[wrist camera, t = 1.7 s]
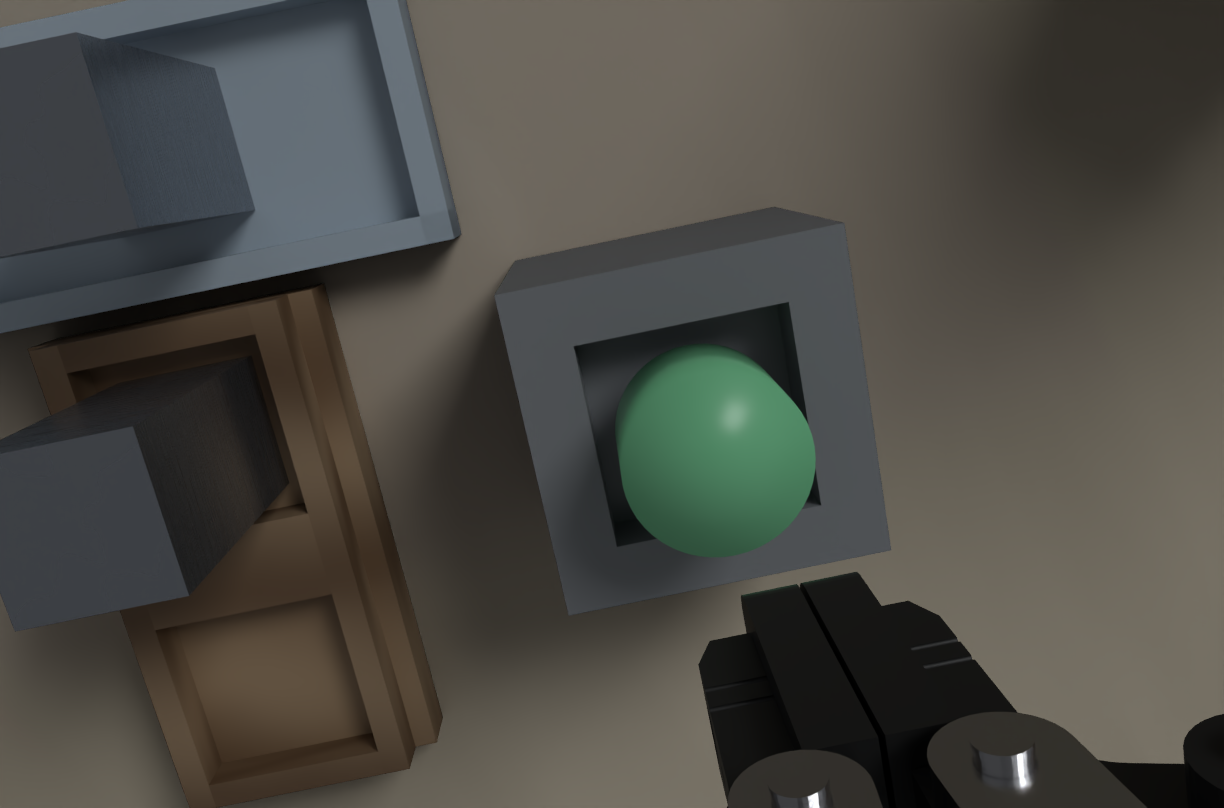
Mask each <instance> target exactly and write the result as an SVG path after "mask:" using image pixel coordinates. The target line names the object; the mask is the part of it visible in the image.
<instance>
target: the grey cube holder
mask: <svg viewBox="0 0 1224 808" xmlns="http://www.w3.org/2000/svg"><path fill="white" fill-rule="evenodd" d="M494 296H495V301H496V305H497V309H498V313H499V318H500V322H501V326H502V331H503V335H504V339H505V344H506V348H507V352H508V356H509V361H510V365H511V369H512V374H513V378H514V382H515V387H516V391H517V395H518V399H519V404H520V408H521V412H522V417H523V421H524V425H525V430H526V434H527V438H528V442H529V447H530V451H531V455H532V460H533V464H534V468H535V473H536V477H537V481H538V485H539V490H540V494H541V498H542V503H543V507H544V511H545V516H546V520H547V524H548V528H549V533H550V537H551V541H552V546H553V550H554V554H555V559H556V563H557V567H558V571H559V576H560V580H561V584H562V589H563V593H564V597H565V602H566V606H567V610H568V614H569V615H574V614H579V613H584V612H589V611H594V610H599V609H604V608H609V607H614V606H619V605H624V604H629V603H634V602H638V601H643V600H648V599H653V598H658V597H663V596H668V595H673V594H678V593H683V592H688V591H693V590H698V589H702V588H707V587H712V586H717V585H722V584H727V583H732V582H737V581H742V580H747V579H752V578H757V577H762V576H767V575H771V574H776V573H781V572H786V571H791V570H796V569H801V568H806V567H811V566H816V565H821V564H826V563H831V562H835V561H840V560H845V559H850V558H855V557H860V556H865V555H870V554H875V553H880V552H885V551H890V550H891V546H890V539H889V532H888V525H887V518H886V511H885V504H884V497H883V490H882V483H881V476H880V469H879V462H878V455H877V448H876V441H875V434H874V427H873V420H872V413H871V406H870V399H869V392H868V385H867V378H866V371H865V364H864V357H863V350H862V343H861V336H860V329H859V322H858V316H857V309H856V302H855V295H854V288H853V281H852V274H851V267H850V260H849V253H848V246H847V239H846V232H845V225H844V223H843V222H838V221H834V220H830V219H825V218H821V217H817V216H812V215H808V214H803V213H799V212H795V211H790V210H786V209H782V208H777V207H771V208H767V209H762V210H757V211H752V212H747V213H743V214H738V215H733V216H728V217H723V218H718V219H714V220H709V221H704V222H699V223H694V224H690V225H685V226H680V227H675V228H670V229H666V230H661V231H656V232H651V233H646V234H641V235H637V236H632V237H627V238H622V239H617V240H613V241H608V242H603V243H598V244H593V245H589V246H584V247H579V248H574V249H569V250H565V251H560V252H555V253H550V254H545V255H540V256H536V257H531V258H526V259H521V260H516V261H515V262H514V264H513V265H512V267H511V269H510V270H509V272H508V274H507V275H506V277H505V278H504V280H503V282H502V283H501V285H500V287H499V288H498V290H497V292H496V293H495V295H494ZM691 344H715V345H721V346H725V347H729V348H732V349H734V350H737V351H739V352H741V353H743V354H745V355H747V356H748V357H750V358H751V359H753V360H754V361H755V362H757V363H758V364H759V365H760V366H761V367H762V368H763V369H764V370H765V371H766V372H767V373H768V374H769V375H770V376H771V378H772V379H773V380H774V381H775V382H776V383H777V384H778V385H779V386H780V387H781V389H782V390H783V391H784V392H785V393H786V394H787V395H788V396H789V397H790V398H791V400H792V401H793V402H794V403H795V404H796V406H797V407H798V408H799V410H800V411H801V412H802V414H803V416H804V418H805V420H806V421H807V423H808V426H809V428H810V431H811V434H812V437H813V442H814V446H815V457H816V462H815V474H814V479H813V484H812V487H811V490H810V493H809V496H808V498H807V500H806V502H805V504H804V506H803V508H802V509H801V511H800V512H799V514H798V515H797V517H796V518H795V519H794V520H793V522H792V523H791V524H790V525H789V526H788V527H787V528H786V529H785V530H784V531H783V532H782V533H781V534H779V535H778V536H777V537H775V538H774V539H772V540H771V541H770V542H768V543H766V544H764V545H762V546H761V547H759V548H756V549H754V550H751V551H749V552H746V553H742V554H739V555H735V556H728V557H702V556H695V555H691V554H687V553H684V552H681V551H678V550H676V549H673V548H672V547H670V546H668V545H666V544H664V543H662V542H661V541H660V540H658V539H657V538H655V537H654V536H653V535H652V534H651V533H650V532H649V531H647V530H646V529H645V528H644V526H643V525H642V524H641V523H640V522H639V520H638V519H637V518H636V516H635V514H634V513H633V511H632V510H631V508H630V505H629V503H628V501H627V499H626V496H625V492H624V489H623V485H622V478H621V471H620V464H619V457H618V451H617V444H616V436H615V421H616V413H617V409H618V406H619V402H620V400H621V397H622V395H623V393H624V391H625V389H626V387H627V386H628V384H629V382H630V381H631V380H632V378H633V377H634V376H635V374H636V373H637V372H638V371H639V370H640V369H641V368H642V367H643V366H644V365H646V364H647V363H648V362H649V361H651V360H652V359H653V358H655V357H657V356H659V355H660V354H662V353H664V352H666V351H669V350H671V349H673V348H677V347H681V346H684V345H691Z"/></svg>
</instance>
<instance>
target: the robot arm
mask: <svg viewBox="0 0 1224 808" xmlns="http://www.w3.org/2000/svg"><path fill="white" fill-rule="evenodd" d="M741 602H742V610H743V615H744V621H745V626H746V632H747V634H742V635H737V636H732V637H727V638H722V639H717V640H712V641H710V642H709V644H708V646H707V648H706V650H705V652H704V654H703V656H702V658H701V660H700V663H699V670H700V675H701V679H702V684H703V689H704V694H705V699H706V704H707V709H708V714H709V719H710V724H711V729H712V734H713V739H714V744H715V749H716V754H717V759H718V764H719V769H720V774H721V778H722V782H723V786H724V791H725V795H726V799H727V803H728V806H727V808H1224V714H1222V715H1217V716H1214V717H1211V718H1209V719H1206V720H1204V721H1202V722H1200V723H1199V724H1197V725H1195V726H1194V727H1193V728H1192V729H1191V730H1190V731H1189V732H1188V734H1187V735H1186V737H1185V740H1184V745H1183V750H1184V764H1151V763H1117V762H1108V761H1100V760H1098V759H1096V758H1095V757H1094V756H1093V755H1092V754H1091V753H1090V752H1089V751H1088V750H1087V749H1086V748H1085V747H1084V746H1083V745H1082V744H1081V743H1080V742H1079V741H1078V740H1077V739H1076V738H1075V737H1074V736H1073V735H1071V734H1070V733H1069V732H1068V731H1066V730H1065V729H1064V728H1062V727H1060V726H1058V725H1057V724H1055V723H1053V722H1050V721H1048V720H1045V719H1043V718H1039V717H1036V716H1033V715H1027V714H1022V713H1017V711H1016V710H1015V709H1014V708H1013V706H1012V705H1011V704H1010V703H1009V701H1008V700H1007V699H1006V698H1005V696H1004V695H1003V694H1002V693H1001V691H1000V690H999V689H998V688H997V686H996V685H995V684H994V683H993V682H992V680H991V679H990V678H989V677H988V675H987V674H986V673H985V672H984V670H983V669H982V668H981V667H980V665H979V664H978V663H977V662H976V660H972V657H971V654H970V653H969V652H968V651H967V649H966V648H965V647H964V646H963V644H962V643H961V642H958V640H957V637H956V636H955V634H954V633H953V632H952V631H951V629H950V628H949V627H948V626H947V625H946V623H945V622H944V621H943V620H942V618H941V617H940V616H939V615H937V614H935V613H933V612H930V611H928V610H926V609H924V608H922V607H920V606H918V605H916V604H914V603H912V602H910V601H905V602H900V603H895V604H890V605H885V606H881V605H880V603H879V602H878V600H877V599H876V597H875V596H874V594H873V593H872V592H871V590H870V589H869V587H868V586H867V584H866V583H865V581H864V580H863V579H862V577H861V576H860V574H859V573H858V572H853V573H849V574H844V575H839V576H834V577H829V578H824V579H819V580H814V581H809V582H804V583H801V584H800V588H799V586H798V585H797V584H795V585H790V586H785V587H780V588H775V589H770V590H765V591H760V592H755V593H751V594H746V595H741Z"/></svg>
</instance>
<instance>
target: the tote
mask: <svg viewBox="0 0 1224 808" xmlns="http://www.w3.org/2000/svg"><path fill="white" fill-rule="evenodd" d="M74 32H77V33H81V34H85V35H89V36H93V37H97V38H100V39H104V40H108V41H112V42H116V43H120V44H124V45H127V46H131V47H135V48H139V49H143V50H147V51H151V52H155V53H158V54H162V55H166V56H170V57H174V58H178V59H182V60H185V61H189V62H193V63H197V64H201V65H205V66H209V67H213V68H215V70H216V74H217V77H218V81H219V84H220V88H221V91H222V95H223V98H224V102H225V105H226V109H227V112H228V116H229V119H230V123H231V126H232V130H233V133H234V137H235V140H236V144H237V147H238V151H239V154H240V158H241V161H242V165H243V168H244V172H245V175H246V179H247V182H248V186H249V189H250V193H251V196H252V200H253V203H254V207H255V210H253V211H249V212H244V213H239V214H234V215H230V216H225V217H220V218H215V219H210V220H206V221H201V222H196V223H191V224H187V225H182V226H177V227H172V228H167V229H163V230H158V231H153V232H148V233H144V234H139V235H134V236H129V237H124V238H119V239H113V240H107V241H102V242H96V243H90V244H84V245H78V246H72V247H66V248H60V249H54V250H48V251H42V252H37V253H31V254H25V255H19V256H13V257H7V258H1V259H0V333H4V332H9V331H14V330H19V329H23V328H28V327H33V326H38V325H43V324H47V323H52V322H57V321H62V320H67V319H71V318H76V317H81V316H86V315H91V314H95V313H100V312H105V311H110V310H115V309H119V308H124V307H129V306H134V305H139V304H143V303H148V302H153V301H158V300H163V299H167V298H172V297H177V296H182V295H187V294H191V293H196V292H201V291H206V290H211V289H215V288H220V287H225V286H230V285H235V284H239V283H244V282H249V281H254V280H259V279H263V278H268V277H273V276H278V275H283V274H287V273H292V272H297V271H302V270H307V269H311V268H316V267H321V266H326V265H331V264H335V263H340V262H345V261H350V260H355V259H359V258H364V257H369V256H374V255H379V254H383V253H388V252H393V251H398V250H403V249H407V248H412V247H417V246H422V245H427V244H431V243H436V242H441V241H446V240H451V239H455V238H456V237H458V236H459V235H461V230H460V226H459V222H458V217H457V213H456V209H455V205H454V201H453V196H452V192H451V188H450V184H449V179H448V175H447V171H446V167H445V163H444V158H443V154H442V150H441V146H440V141H439V137H438V133H437V129H436V125H435V120H434V116H433V112H432V108H431V104H430V99H429V95H428V91H427V87H426V82H425V78H424V74H423V70H422V66H421V61H420V57H419V53H418V49H417V44H416V40H415V36H414V32H413V28H412V23H411V19H410V15H409V11H408V7H407V2H406V0H128V1H123V2H119V3H114V4H109V5H105V6H100V7H95V8H91V9H86V10H81V11H76V12H72V13H67V14H62V15H58V16H53V17H48V18H43V19H39V20H34V21H29V22H25V23H20V24H15V25H10V26H6V27H1V28H0V48H4V47H8V46H13V45H18V44H22V43H27V42H32V41H37V40H41V39H46V38H51V37H55V36H60V35H65V34H70V33H74Z"/></svg>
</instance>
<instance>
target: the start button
mask: <svg viewBox="0 0 1224 808" xmlns="http://www.w3.org/2000/svg"><path fill="white" fill-rule="evenodd" d="M615 436H616V444H617V451H618V457H619V464H620V471H621V478H622V485H623V489H624V492H625V496H626V499H627V501H628V503H629V505H630V508H631V510H632V511H633V513H634V514H635V516H636V518H637V519H638V520H639V522H640V523H641V524H642V525H643V526H644V528H645V529H646V530H647V531H649V532H650V533H651V534H652V535H653V536H654V537H655V538H657V539H658V540H660V541H661V542H662V543H664V544H666V545H668V546H670V547H672V548H673V549H676V550H678V551H681V552H684V553H687V554H691V555H695V556H702V557H728V556H735V555H739V554H742V553H746V552H749V551H751V550H754V549H756V548H759V547H761V546H762V545H764V544H766V543H768V542H770V541H771V540H772V539H774V538H775V537H777V536H778V535H779V534H781V533H782V532H783V531H784V530H785V529H786V528H787V527H788V526H789V525H790V524H791V523H792V522H793V520H794V519H795V518H796V517H797V515H798V514H799V512H800V511H801V509H802V508H803V506H804V504H805V502H806V500H807V498H808V496H809V493H810V490H811V487H812V484H813V479H814V474H815V462H816V457H815V446H814V442H813V437H812V434H811V431H810V428H809V426H808V423H807V421H806V420H805V418H804V416H803V414H802V412H801V411H800V410H799V408H798V407H797V406H796V404H795V403H794V402H793V401H792V400H791V398H790V397H789V396H788V395H787V394H786V393H785V392H784V391H783V390H782V389H781V387H780V386H779V385H778V384H777V383H776V382H775V381H774V380H773V379H772V378H771V376H770V375H769V374H768V373H767V372H766V371H765V370H764V369H763V368H762V367H761V366H760V365H759V364H758V363H757V362H755V361H754V360H753V359H751V358H750V357H748V356H747V355H745V354H743V353H741V352H739V351H737V350H734V349H732V348H729V347H725V346H721V345H715V344H691V345H684V346H681V347H677V348H673V349H671V350H669V351H666V352H664V353H662V354H660V355H659V356H657V357H655V358H653V359H652V360H651V361H649V362H648V363H647V364H646V365H644V366H643V367H642V368H641V369H640V370H639V371H638V372H637V373H636V374H635V376H634V377H633V378H632V380H631V381H630V382H629V384H628V386H627V387H626V389H625V391H624V393H623V395H622V397H621V400H620V402H619V406H618V409H617V413H616V421H615Z"/></svg>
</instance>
